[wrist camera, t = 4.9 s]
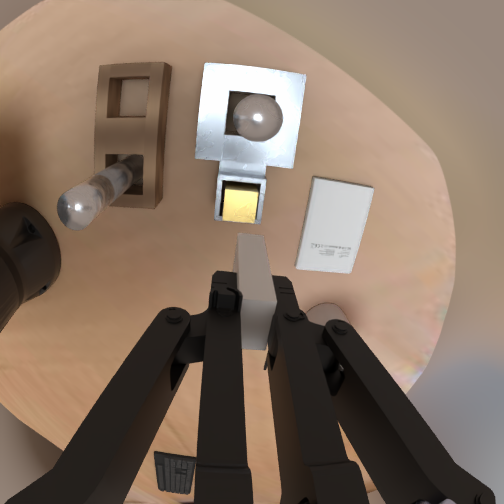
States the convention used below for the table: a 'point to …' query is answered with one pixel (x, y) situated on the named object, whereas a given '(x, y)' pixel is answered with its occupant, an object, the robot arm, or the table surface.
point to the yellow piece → (240, 201)
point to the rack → (133, 128)
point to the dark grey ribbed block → (174, 472)
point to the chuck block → (232, 143)
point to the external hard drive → (333, 225)
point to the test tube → (98, 192)
